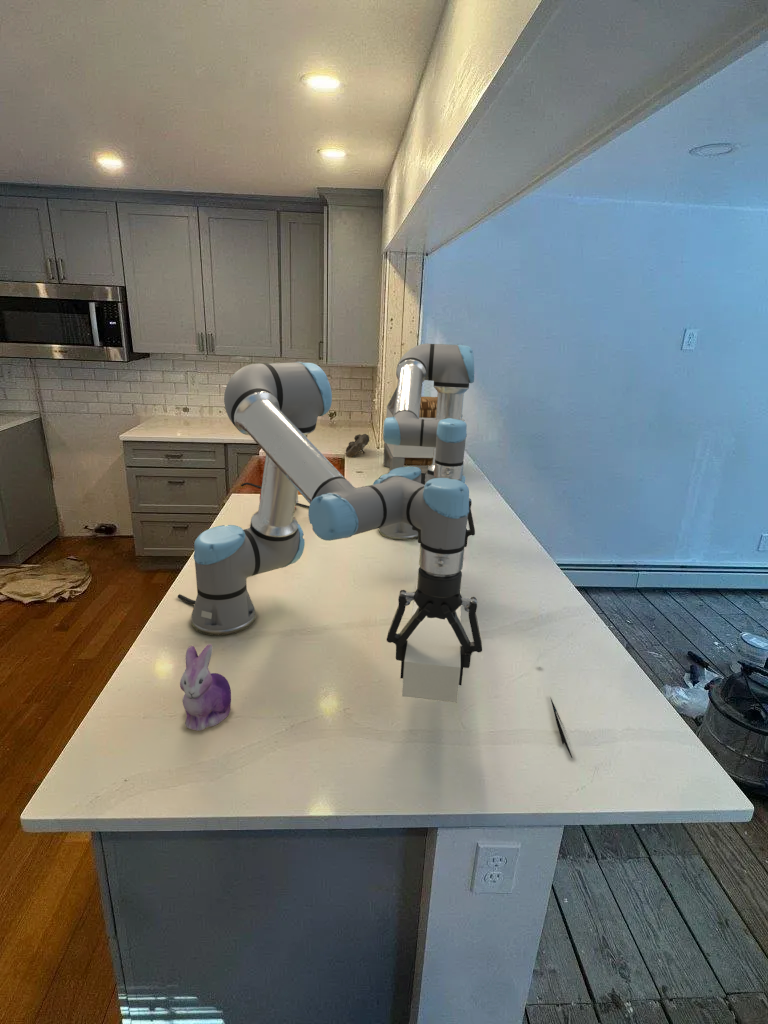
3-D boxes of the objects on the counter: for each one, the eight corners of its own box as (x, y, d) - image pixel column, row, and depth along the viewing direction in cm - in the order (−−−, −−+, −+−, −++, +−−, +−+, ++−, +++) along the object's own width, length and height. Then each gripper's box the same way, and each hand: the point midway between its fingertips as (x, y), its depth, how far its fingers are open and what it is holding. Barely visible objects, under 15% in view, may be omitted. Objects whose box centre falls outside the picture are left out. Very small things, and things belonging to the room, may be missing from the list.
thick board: (424, 548, 164) (426, 524, 161) (458, 551, 163) (460, 527, 160) (401, 696, 101) (404, 661, 98) (456, 703, 100) (460, 667, 97)
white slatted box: (382, 463, 289) (386, 382, 275) (445, 464, 293) (451, 384, 279) (390, 482, 257) (394, 392, 243) (460, 483, 261) (468, 394, 247)
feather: (540, 672, 128) (545, 666, 127) (572, 762, 101) (579, 755, 101) (533, 668, 128) (539, 662, 127) (564, 758, 101) (571, 750, 100)
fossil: (345, 440, 316) (366, 424, 311) (356, 453, 319) (377, 438, 314) (339, 453, 297) (361, 437, 292) (350, 467, 300) (373, 452, 295)
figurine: (187, 740, 102) (180, 669, 97) (178, 706, 110) (171, 639, 105) (239, 725, 106) (236, 656, 101) (227, 693, 115) (223, 628, 109)
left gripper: (372, 571, 95) (368, 682, 103) (507, 584, 93) (493, 697, 100) (379, 553, 102) (374, 658, 110) (504, 565, 100) (491, 672, 107)
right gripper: (404, 479, 148) (399, 557, 155) (491, 486, 145) (482, 564, 153) (407, 471, 155) (402, 546, 163) (489, 477, 152) (481, 553, 160)
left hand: (431, 677), depth 105 cm, fingers closed on thick board, 10 cm apart
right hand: (441, 555), depth 158 cm, fingers closed on thick board, 10 cm apart
